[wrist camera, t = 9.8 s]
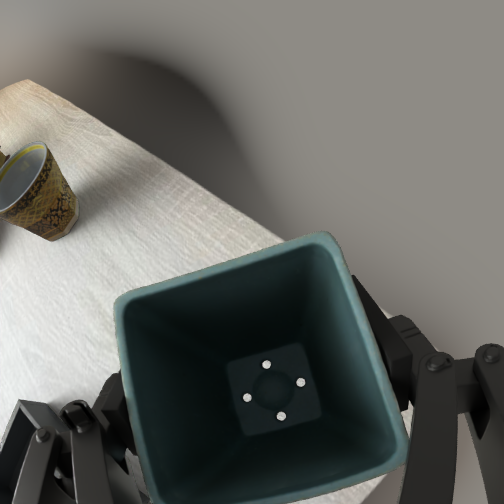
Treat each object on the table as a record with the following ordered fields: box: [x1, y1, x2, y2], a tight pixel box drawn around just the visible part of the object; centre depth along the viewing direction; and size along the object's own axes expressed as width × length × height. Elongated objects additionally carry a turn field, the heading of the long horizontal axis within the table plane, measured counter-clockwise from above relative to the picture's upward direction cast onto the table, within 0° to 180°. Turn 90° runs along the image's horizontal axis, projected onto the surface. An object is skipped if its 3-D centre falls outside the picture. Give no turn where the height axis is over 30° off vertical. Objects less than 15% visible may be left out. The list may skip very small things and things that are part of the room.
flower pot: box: [113, 231, 409, 504], centre depth 13 cm, size 9×9×9 cm
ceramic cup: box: [0, 141, 79, 241], centre depth 32 cm, size 13×10×10 cm
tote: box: [0, 399, 150, 504], centre depth 20 cm, size 15×15×4 cm
